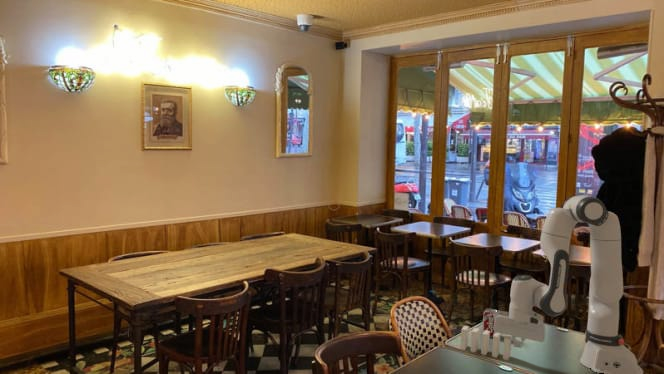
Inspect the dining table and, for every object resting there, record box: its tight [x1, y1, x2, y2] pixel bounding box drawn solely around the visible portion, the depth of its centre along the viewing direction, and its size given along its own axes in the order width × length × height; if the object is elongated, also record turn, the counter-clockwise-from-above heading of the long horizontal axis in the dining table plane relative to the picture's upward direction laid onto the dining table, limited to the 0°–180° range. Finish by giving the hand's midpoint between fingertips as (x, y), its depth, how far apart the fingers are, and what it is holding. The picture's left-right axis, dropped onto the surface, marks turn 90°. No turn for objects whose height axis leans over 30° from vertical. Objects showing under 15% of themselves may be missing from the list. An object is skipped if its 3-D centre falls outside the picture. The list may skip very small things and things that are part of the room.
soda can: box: [481, 308, 498, 338], centre depth 234 cm, size 7×7×12 cm
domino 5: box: [502, 334, 512, 361], centre depth 210 cm, size 2×5×9 cm, turn 149°
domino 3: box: [480, 330, 491, 356], centre depth 214 cm, size 2×5×9 cm, turn 150°
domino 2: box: [470, 327, 480, 353], centre depth 216 cm, size 2×5×9 cm, turn 150°
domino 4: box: [491, 333, 502, 359], centre depth 212 cm, size 2×5×9 cm, turn 150°
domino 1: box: [459, 325, 470, 351], centre depth 219 cm, size 2×5×9 cm, turn 150°
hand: (517, 346), depth 207 cm, fingers closed
